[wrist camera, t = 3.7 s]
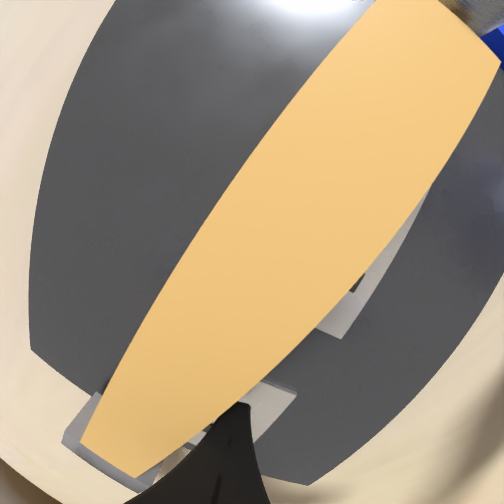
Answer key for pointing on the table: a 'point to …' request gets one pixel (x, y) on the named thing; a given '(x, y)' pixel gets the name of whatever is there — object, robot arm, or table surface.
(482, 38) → the bracket
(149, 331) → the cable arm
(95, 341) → the panel
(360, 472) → the table surface
